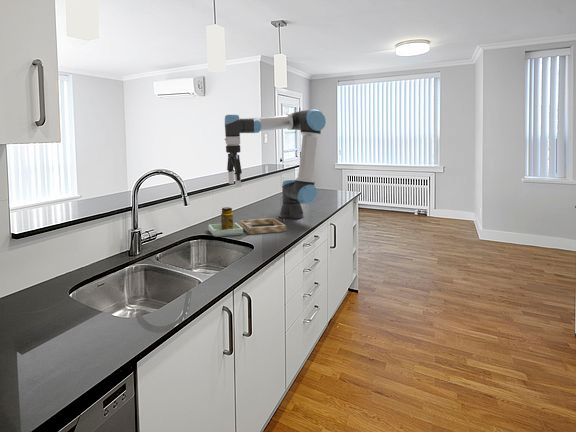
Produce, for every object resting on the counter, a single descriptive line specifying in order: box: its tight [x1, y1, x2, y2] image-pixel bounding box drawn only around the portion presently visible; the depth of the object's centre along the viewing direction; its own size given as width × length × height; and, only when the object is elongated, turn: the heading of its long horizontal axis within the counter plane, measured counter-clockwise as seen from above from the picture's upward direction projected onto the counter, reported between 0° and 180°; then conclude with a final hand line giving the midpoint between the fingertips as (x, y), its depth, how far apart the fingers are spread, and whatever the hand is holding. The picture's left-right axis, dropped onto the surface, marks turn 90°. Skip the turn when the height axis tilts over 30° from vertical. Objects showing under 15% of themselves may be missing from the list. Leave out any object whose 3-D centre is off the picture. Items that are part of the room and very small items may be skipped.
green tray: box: [208, 222, 244, 238], centre depth 212 cm, size 15×15×3 cm
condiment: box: [217, 207, 234, 230], centre depth 211 cm, size 7×8×12 cm
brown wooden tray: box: [239, 217, 287, 235], centre depth 221 cm, size 20×20×3 cm
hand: (234, 185), depth 217 cm, fingers open, 13 cm apart
